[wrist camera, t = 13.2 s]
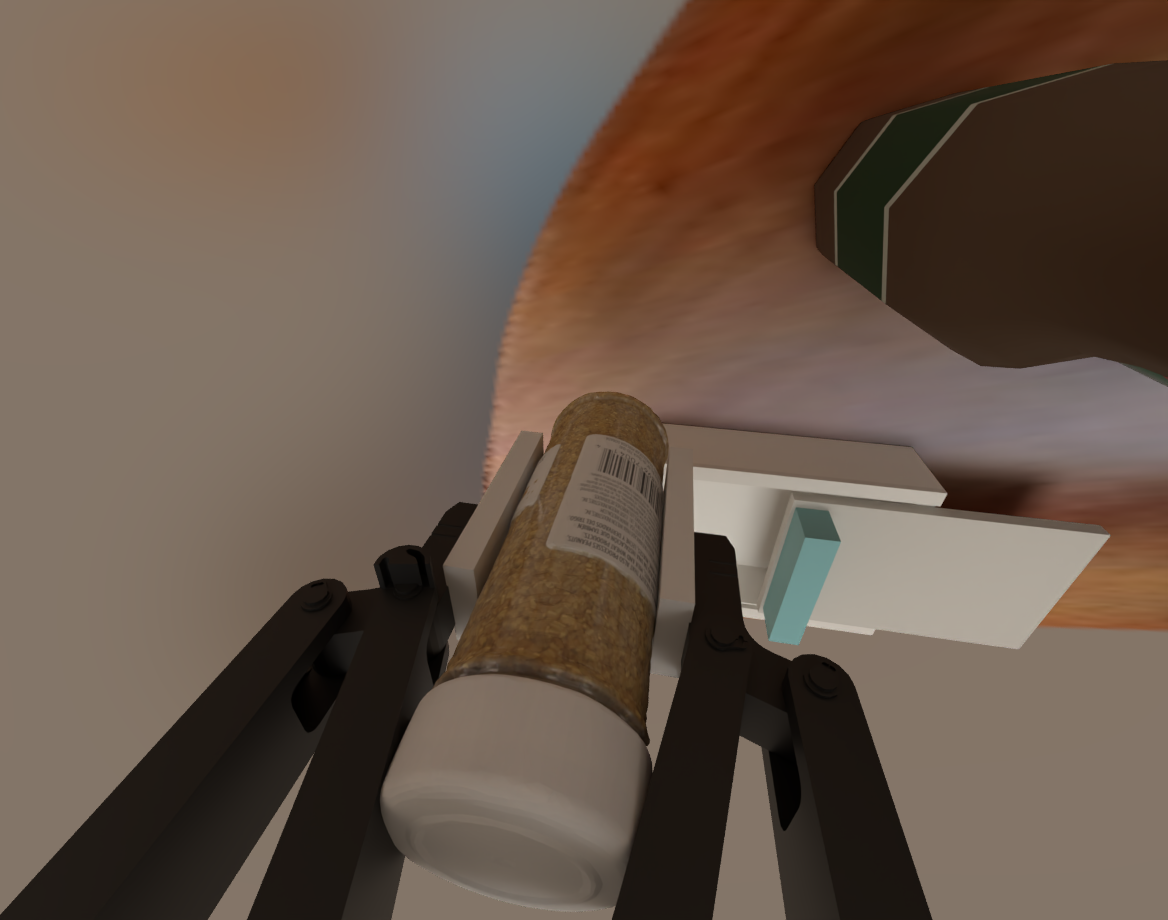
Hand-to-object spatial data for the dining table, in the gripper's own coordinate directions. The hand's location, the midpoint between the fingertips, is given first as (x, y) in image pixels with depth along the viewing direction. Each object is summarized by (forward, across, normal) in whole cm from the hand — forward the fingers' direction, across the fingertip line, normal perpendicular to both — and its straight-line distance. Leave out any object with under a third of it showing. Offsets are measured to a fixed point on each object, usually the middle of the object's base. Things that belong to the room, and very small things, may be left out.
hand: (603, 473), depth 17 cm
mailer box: (+15, -10, +12) cm, 22 cm away
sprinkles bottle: (+2, 0, 0) cm, 2 cm away
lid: (+11, -18, +12) cm, 24 cm away
